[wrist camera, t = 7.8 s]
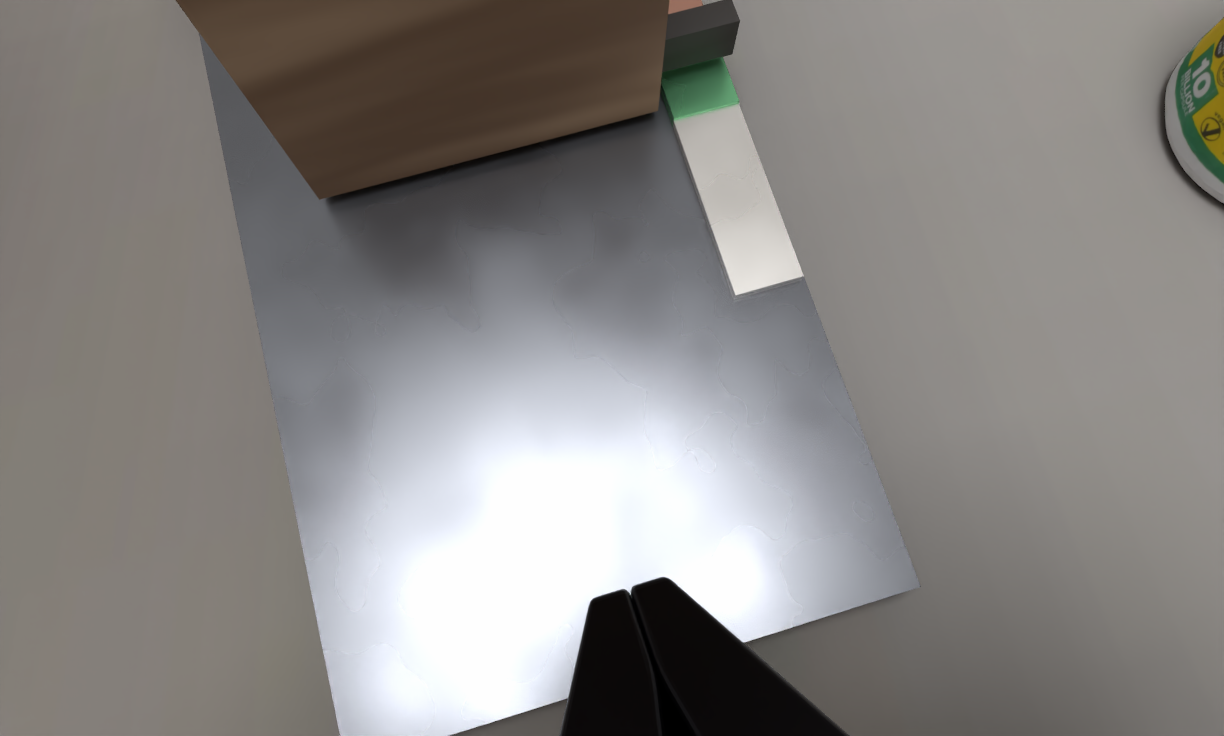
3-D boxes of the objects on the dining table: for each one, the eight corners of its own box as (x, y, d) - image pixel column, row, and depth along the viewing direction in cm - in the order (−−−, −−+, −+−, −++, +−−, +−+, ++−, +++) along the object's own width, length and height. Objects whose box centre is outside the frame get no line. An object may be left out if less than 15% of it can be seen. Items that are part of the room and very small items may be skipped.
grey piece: (901, 587, 19) (1294, 571, 8) (363, 757, 18) (-6, 995, 7) (619, -172, 24) (629, -795, 13) (192, -71, 23) (-167, -654, 12)
